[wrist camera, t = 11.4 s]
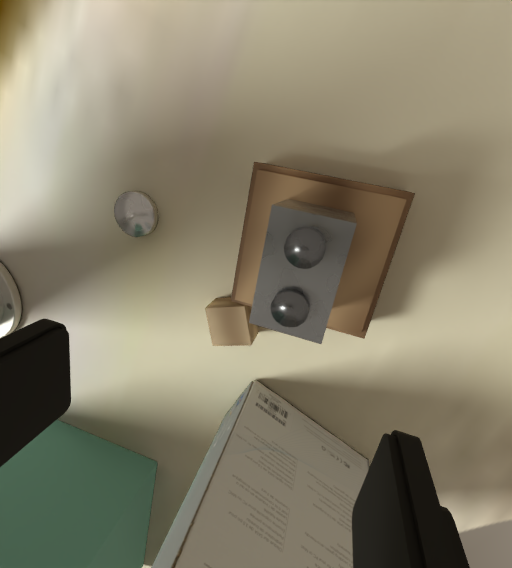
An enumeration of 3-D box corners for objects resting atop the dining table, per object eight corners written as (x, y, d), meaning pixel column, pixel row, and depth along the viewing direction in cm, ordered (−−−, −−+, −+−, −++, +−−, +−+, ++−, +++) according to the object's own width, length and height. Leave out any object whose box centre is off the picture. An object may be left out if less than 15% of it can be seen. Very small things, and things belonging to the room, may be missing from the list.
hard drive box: (221, 418, 38) (108, 638, 20) (254, 376, 35) (156, 591, 17) (330, 496, 38) (315, 797, 19) (373, 460, 35) (404, 777, 16)
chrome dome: (120, 228, 34) (113, 230, 33) (123, 186, 33) (115, 186, 32) (157, 239, 33) (150, 241, 32) (162, 197, 32) (155, 197, 31)
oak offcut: (223, 332, 35) (212, 345, 32) (216, 297, 34) (205, 308, 31) (258, 331, 34) (251, 345, 31) (253, 295, 32) (244, 306, 30)
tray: (241, 288, 32) (228, 303, 29) (264, 163, 28) (252, 161, 24) (362, 321, 30) (364, 342, 27) (406, 191, 26) (416, 193, 22)
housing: (288, 198, 25) (269, 205, 19) (354, 212, 24) (357, 225, 18) (268, 293, 27) (246, 326, 21) (326, 309, 27) (320, 348, 20)
